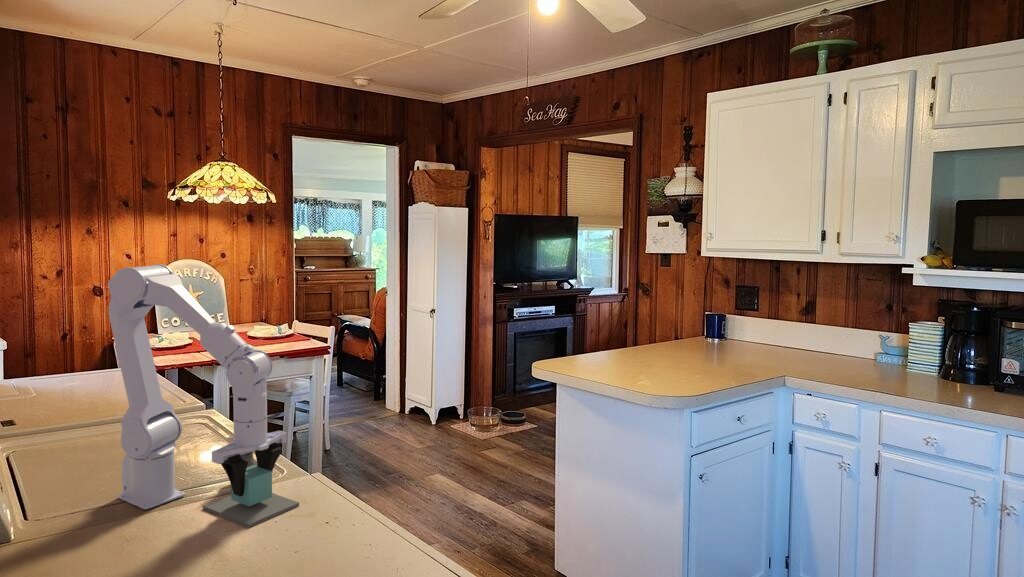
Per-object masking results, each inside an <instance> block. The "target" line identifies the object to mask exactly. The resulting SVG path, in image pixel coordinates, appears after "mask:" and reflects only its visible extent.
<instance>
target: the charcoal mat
mask: <svg viewBox="0 0 1024 577" xmlns="http://www.w3.org/2000/svg"><path fill="white" fill-rule="evenodd" d="M297 507H300V502H298V501H296V500H293V499H290V498H287V497H284V496H281V495H280V494H276V493H274V492H272V497H271V498H269V499H266V500H264V501H261V502H259V503H256V504H254V505H251V506H247V505H244V504H242V503H239V502H236V501H234V500H231V494H230V495H228V496H225V497H222V498H220V499H217V500H215V501H212V502H210V503H207V504H204V505H203V506H202V509H203V510H204V511H207V512H209V513H212V514H214V515H216V516H219V517H222V518H224V519H227V520H229V521H231V522H233V523H236V524H238V525H241V526H244V527H245V528H248V529H249V528H252V527H254V526H256V525H258V524H261V523H263V522H265V521H267V520H268V521H269V520H270V519H272V518H274V517H276V516H279V515H282V514H284V513H286V512H288V511H291V510H293V509H295V508H297Z"/></svg>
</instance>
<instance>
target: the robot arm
mask: <svg viewBox="0 0 1024 577" xmlns="http://www.w3.org/2000/svg"><path fill="white" fill-rule="evenodd" d="M107 286H108V290H109V294H110V295H109V296H110V299H109V306H108V319H109V322H110V327H111V332H112V335H113V336H112V337H113V341H114V344H115V350H116V353H117V358H118V362H119V367H120V371H121V374H122V380H123V384H124V388H125V394H126V397H127V401H128V408H127V410H126V411H125V413H124V415H123V416H122V418H121V419H120V424H121V434H120V446H121V448H122V450H123V451H124V452H125V456H124V457H123V459H122V462H121V486H122V487H121V488H122V489H121V490H122V491H121V492H122V493H120V494H118V495H117V499H120V500H122V501H124V502H126V503H129V504H130V505H133V506H136V507H138V508H140V509H142V510H149V509H152V508H155V507H157V506H160V505H163V504H165V503H168V502H171V501H174V500H177V499H180V498H183V497H185V496H186V493H185V492H184V491H181V490H178V489H176V475H175V474H176V472H175V469H176V468H175V448H176V445H177V444H176V442H177V441H178V440H179V439H180V437H181V435H182V432H183V426H182V422H181V419H180V418H179V417H178V415H177V414H176V413H175V410H174V406H173V405H174V404H172V403H170V402H169V401H167V400H166V399H164V398H163V396H162V391H161V388H160V382H159V378H158V374H157V368H156V365H155V360H154V356H153V352H152V347H151V342H150V337H149V334H148V330H147V324H146V320H145V317H146V316H147V314H148V313H149V312H150V311H151V310H152V309H153V307H154V306H158V307H166V308H168V309H170V311H172V312H173V313H174V314H175V315H176V316H177V317H179V319H180V320H182V321H183V322H184V323H186V324H187V325H188V327H190V328H191V329H192V330H194V331H195V332H196V333H197V334H199V338H200V340H199V344H200V346H201V347H202V348H203V349H204V350H205V351H206V352H207V353H208V354H209V355H211V357H212V358H213V359H215V360H216V361H217V363H219V365H220V366H222V368H224V369H225V370H226V371H225V377H226V379H227V381H228V383H229V384H230V386H231V389H232V391H231V392H232V394H233V395H232V399H233V400H232V402H233V403H232V405H233V441H231V442H230V443H228V444H226V445H224V446H222V447H220V448H218V449H215V450H212V451H211V462H212V463H214V464H217V465H221V466H222V468H223V469H224V471H225V474H226V475H227V478H228V480H229V483H230V487H231V486H232V490H233V494H235V495H237V496H243V494H244V487H245V473H246V468H247V465H248V462H247V461H244V460H242V458H241V455H244V454H247V453H250V452H253V453H254V455H255V458H256V461H257V465H258V467H261V468H264V469H267V470H270V471H272V472H273V471H274V468H275V465H276V463H277V461H278V459H279V457H280V456H281V454H282V447H281V446H278V444H284V443H286V442H287V432H286V431H282V430H276V431H271V432H268V390H267V388H268V384H267V382H268V381H267V379H268V378H269V377H270V375H271V374H272V372H273V362H272V359H271V358H270V357H269V355H268V353H267V352H266V351H264V350H261V349H256V348H254V346H252V345H251V344H248V343H247V342H246V341H245V340H244V338H242V337H241V336H240V335H239V334H238V333H237V332H236V330H237V328H235V326H234V325H232V324H227V322H223V321H221V322H218V321H215V320H214V319H213V318H212V316H211V315H210V314H209V313H208V312H207V310H205V308H204V307H202V305H201V304H200V303H199V302H198V301H197V299H195V298H194V296H193V295H191V293H190V292H189V291H188V290H187V288H185V287H184V285H183V282H182V280H181V277H180V276H178V275H177V274H176V273H174V272H173V270H172V269H171V268H170V267H169V266H167V265H165V264H160V263H156V264H152V265H145V266H136V267H132V266H131V267H130V266H127V267H123V268H122V267H121V268H120V269H118V270H117V271H116V272H115V273H114V274H113V276H112V277H111V278H110V279H109V281H108V282H107Z"/></svg>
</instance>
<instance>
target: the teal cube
mask: <svg viewBox="0 0 1024 577" xmlns="http://www.w3.org/2000/svg"><path fill="white" fill-rule="evenodd" d="M230 487H231V488H230V489H231V492H230V493H231V494H230V495H231V500H234V501H236V502H239V503H242V504H244V505H247V506H251V505H254V504H256V503H259V502H261V501H264V500H266V499H269V498H271V497H272V493H273V471H270V470H267V469H264V468H261V467H258V466H255V465H254V466H251V467H248V468H246V473H245V487H244V494H243V496H237V495H235V494H233V490H232V486H231V485H230Z"/></svg>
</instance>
